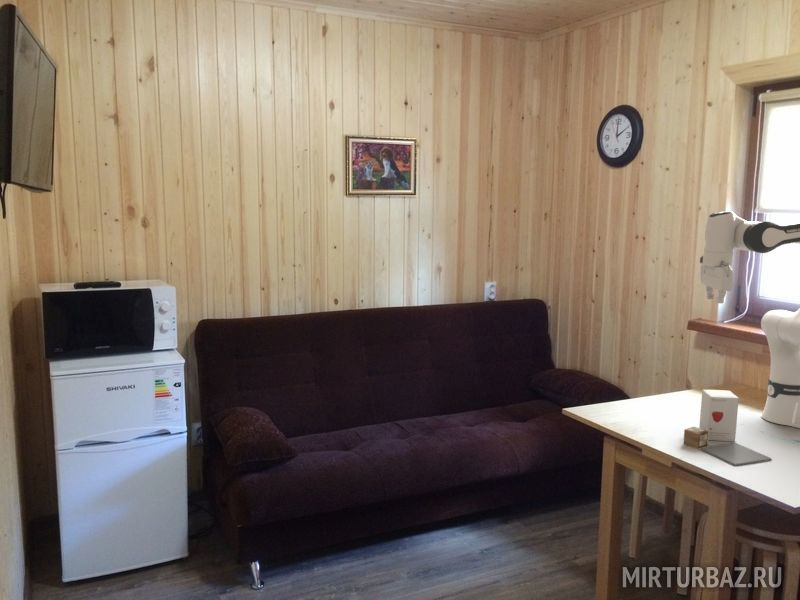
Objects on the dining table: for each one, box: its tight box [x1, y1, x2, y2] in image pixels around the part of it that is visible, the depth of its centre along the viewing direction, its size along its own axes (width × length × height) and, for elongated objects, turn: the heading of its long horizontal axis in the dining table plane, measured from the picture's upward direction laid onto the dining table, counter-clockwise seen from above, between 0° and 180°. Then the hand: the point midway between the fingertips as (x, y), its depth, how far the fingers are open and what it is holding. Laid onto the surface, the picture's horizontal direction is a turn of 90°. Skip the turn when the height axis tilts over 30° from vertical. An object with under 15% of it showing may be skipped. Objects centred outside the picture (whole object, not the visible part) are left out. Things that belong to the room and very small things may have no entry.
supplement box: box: [698, 389, 740, 442], centre depth 218 cm, size 9×9×15 cm
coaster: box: [699, 442, 773, 467], centre depth 203 cm, size 14×14×1 cm
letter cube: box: [683, 426, 709, 450], centre depth 211 cm, size 5×5×5 cm
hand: (714, 301), depth 221 cm, fingers open, 8 cm apart
